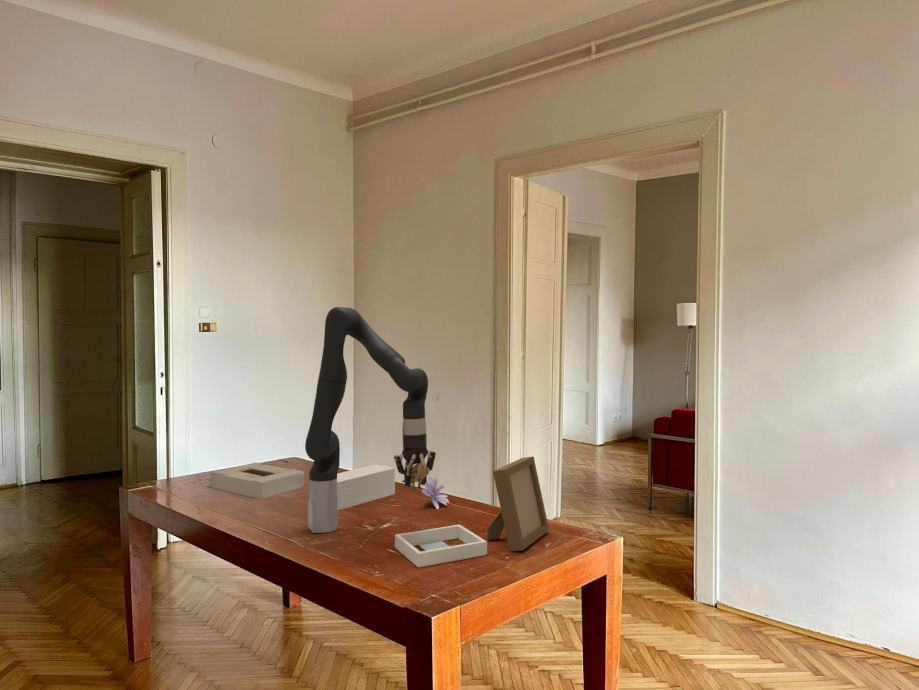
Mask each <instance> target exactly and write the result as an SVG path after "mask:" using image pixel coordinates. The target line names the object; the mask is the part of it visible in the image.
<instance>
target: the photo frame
mask: <svg viewBox="0 0 919 690" xmlns="http://www.w3.org/2000/svg"><path fill="white" fill-rule="evenodd" d="M535 461H536V460H535V457H534V456H527V457H520V458H519V459H517V460H514V461H513V462H509V463H508V464H506V465H504V466H501V467H499V468H498V469H494V470H492V473H493V478H494V482H495V488H496V493H497V498H498V501H499V507H500V510H499V512H498V513H497V514H496V515H495V517H494V518H493V519H492V521H491V522H490V524H489V525H488V526H487V531H486V540H485V541H491V540H498V539H500V536H501V534H502V533H503V531H504V532H505V536H506V539H507V540H506V541H507V545H508V549H509V550H508V551H509V552H518V551H519V552H520V551H524V550H525V549H526V548H528V547H529V546H530V545H532V544H533V543H534V542H535V541H537V540H538V539H540V538H541V537H543V535H545V534H546V533H548V532H549V531H550V528H549V524H548V518H547V513H546V510H545V509H546V508H545V504H544V499H543V495H542V491H541V485H540V480H539V476H538V471H537V467H536V466H537V465H536V463H535Z"/></svg>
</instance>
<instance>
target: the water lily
mask: <svg viewBox="0 0 919 690" xmlns="http://www.w3.org/2000/svg"><path fill="white" fill-rule="evenodd" d="M428 476H429V477H428V481H427V482H426V483H425V485H424V487H425V488H426V489H425V488H422V490H421V492H422V494H424V495H425V496H427V497H428V498H427V499H425V501H424V504H425V505H426V504H427V503H428V502H429V500H430V499H431V502H432V504H433V506H434V508H436V510H439V509H440V505H439V503H440V504H442V505H443V506H444V505H445V506H448V504H449V503H450V501H449V499H448V497H449V496H448V495H446V494H445V493H444V494H443V493H442V492H444V491H445V490H446V485H439V486H438V479H437V477H434V479H433V477H432V476H431V475H428ZM441 493H442V494H441Z"/></svg>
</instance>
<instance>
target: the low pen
mask: <svg viewBox="0 0 919 690" xmlns="http://www.w3.org/2000/svg"><path fill="white" fill-rule="evenodd" d="M455 539H459V540H460V541H461V542H462V543H463V544H457V545H451V546H450V545H448V544H447V543H446V542H444V541H451V540H455ZM415 546H419V548H420V549H422V550H423V551H421V550H419V549H418V548H417V547H415ZM394 548H395V549H396V550H397V551H398V552H400V553H401V555H403V556H404V557H406V559H407V560H409V561H410V562H411V563H413V564H414V565H415V566H416V567H417V568H422V567H423V568H425V567H429V566H434V565H439V564H444V563H445V564H446V563H450V562H457V561H460V560H467V559H470V558H472V559H473V558H477V557H483V556H487V555H488V540H485V539H484V538H482V537H481V536H479V535H477V534H475V533H474V532H472V531H471V530H469V529H468V528H466V527H465V526H463V525H461V524H455V525H448V526H441V527H435V528H428V529H424V530H416V531H412V532H411V531H410V532H403V533H398V534H394Z"/></svg>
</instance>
